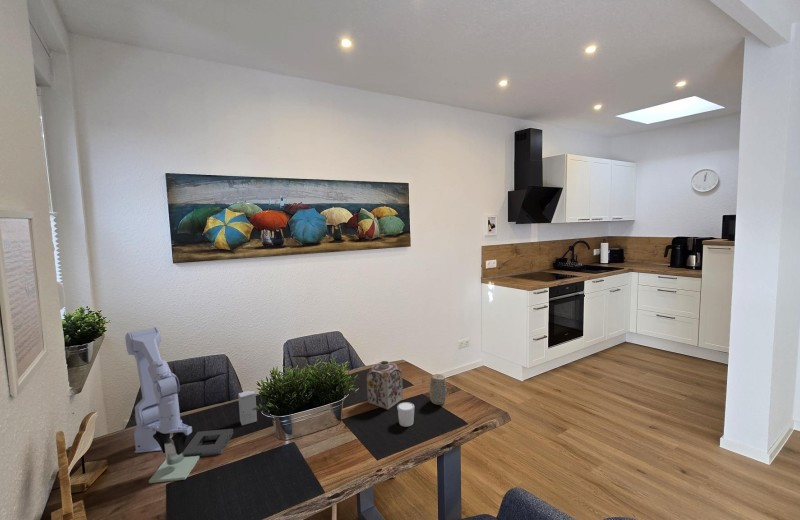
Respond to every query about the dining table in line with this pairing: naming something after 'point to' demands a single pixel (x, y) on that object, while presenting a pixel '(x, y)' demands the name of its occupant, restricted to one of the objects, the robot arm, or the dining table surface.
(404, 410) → the white cup
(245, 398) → the skincare box
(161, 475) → the sage pad
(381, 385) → the decorative jar
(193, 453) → the bore plate
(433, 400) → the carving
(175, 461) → the translucent grey cylinder
